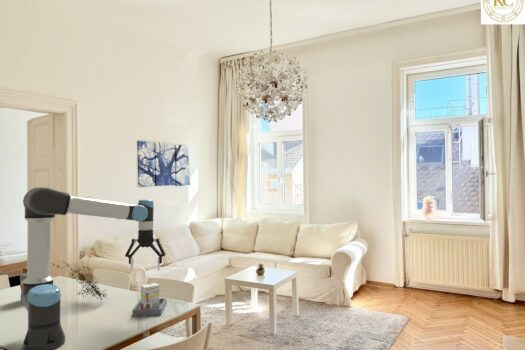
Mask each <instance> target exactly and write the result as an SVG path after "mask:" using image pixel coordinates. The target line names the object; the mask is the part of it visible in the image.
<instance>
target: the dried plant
mask: <svg viewBox="0 0 525 350" xmlns="http://www.w3.org/2000/svg"><path fill="white" fill-rule="evenodd" d="M92 246H94V244H93V245H92ZM92 250H94V248H91V249H90V252H89V255H88V261H87V262H89V260H90V258H92V257H93V256H90V255H92V254H93V253H92ZM79 257H81V258H82V259H84V258H85V257H84V254H83V251H80V254H79ZM82 259H81V260H80V261H81V262H83V260H82ZM63 264H65V266H66V268H65V267H64V266H63V267H61V266H59V265H56V264H55V263H52V265H53V266H52V267H54V266H56V268H63V269H65V270H67V267H68V268H69V269H71V271H72V272H68V270H67V271H66V272H68V273H69V275H71V278H72V279H75V280H76V282H77V283H78V284H81V285H82V287H81V290H80V291H78V292H76V294H75V295H76V296H78V297H79V296H80V295H83V297H82V298H83V299H84V298H86V297H87V295H92V296H91V299H92V298H93V297H95V298H96V299H98V300H101V301H103V298H105V299H107V297H106V296H108V293H106V291H107V290H108V289H107V288H106V289H103V290H102V291H101V289H100V287H99V286H98V283H99V281H98V279H94V278H95V276H94V275H92V273H91V272H92V269H91V268H90V267H89V264H87V266H84V265H83V264H84V263H81V265H82V268H80V267H78V266H76V265H75V264H73V263H72V266H75V268H76V269H73V268H72V267H70V263H68V262H66V260H65V261H64V260H63ZM81 270H82V272H80V271H81ZM83 272H84V273H83ZM86 272H87V273H88V274H87V273H86ZM75 274H76V275H77V276H76V275H75ZM74 275H75V276H74ZM84 293H85V294H84ZM97 296H98V297H97Z"/></svg>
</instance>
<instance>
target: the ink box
mask: <svg viewBox="0 0 525 350" xmlns="http://www.w3.org/2000/svg"><path fill="white" fill-rule="evenodd" d="M159 298H160V284H159V283H157V282H154V283H149V284H148V283H146V284H142V285H141V286H140V299H141V309H144V302H146V309H150V302H152V309H153V308H157V307H159Z"/></svg>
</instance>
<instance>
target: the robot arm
mask: <svg viewBox="0 0 525 350" xmlns="http://www.w3.org/2000/svg"><path fill="white" fill-rule="evenodd" d="M22 203H23V207H24V220H26V221H27V222H28V225H27V226H28V227H27V228H28V229H27V230H28V233H27V237H28V239H27V271H26V272H27V278H26V279H25V280H24V281H23V290H22V292H21V291H20V293H21V294H20V302H21V304H22V306H23V307H24V308H25V309H26V311H27V330H26V334H25V335H24V339H23V343H22V350H54V349H57V348H59V347H62V345H64V344H65V343H66V335H65V332H64V330H63V326H62V324H61V297H62V293H61V289H60V287H59V286H58V285H55V284H54V277H53V276H52V275H51V274H50V272H51V232H52V231H51V230H52V229H51V228H52V227H51V226H52V224H51V223H52V221H53V220H54V219H55V218H56V217H55V216H57V215H58V216H59V215H60V216H66V215H69V214H73V215H80V216H81V215H82V216H90V217H91V216H92V217H98V218H99V217H101V218H109V219H116V220H125V221H126V220H127V221H135V222H137V223H138V225H137V226H138V227H137V231H138V232H137V234H138V235H137V238H135V237H133V238H132V239H131V241H130V242H131V243H130V245H129V247H128V248H127V251H126V253H125V255H124V257H126V258H128V265H130V271H131V272H133V271H134V260H135V259H134V258H135V257H133V256H134V255H135V253H137V251H139V249H140V248H141V247H142V248H150V249H152V250H153V252H155V254H156V256H158V257H157V271H160V270H161V264H162V263H163V257H166V255H167V254H166V252H165V250H164V247H163V245H162V244H161V240H160V237H158V238H154V209H155V208H154V201H153V199H138V203H127V202H126V203H125V202H119V201H113V200H112V201H111V200H104V199H96V198H90V197H84V196H76V195H72V194H71V193H69V192H64V191H59V190H56V189H53V188H50V187H49V188H48V187H43V186H41V187H40V186H39V187H33V188H32V189H30V190H27V192H26V194H25V195H24V196H23V200H22ZM154 242H155V244H157V247H158V249H159V250H158V249H157V247H156V246H155V244H154ZM136 243H138V245H136V247H135V248H134V250H132V249H133V247H134V246H135V244H136ZM131 251H132V252H131Z"/></svg>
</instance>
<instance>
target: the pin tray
mask: <svg viewBox="0 0 525 350" xmlns="http://www.w3.org/2000/svg"><path fill="white" fill-rule="evenodd" d="M167 299H168V298H167V297H162V298H161V297H159V307H157V308H153V309H152V302H150V309H146V302H144V309H141V298H140V299H139V300H138V301H137V303H136V304H135V306H134V307H133V309H132V317H139V316H140V317H141V316H162V314H163V312H164V310H165V307H166V306H167Z"/></svg>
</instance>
